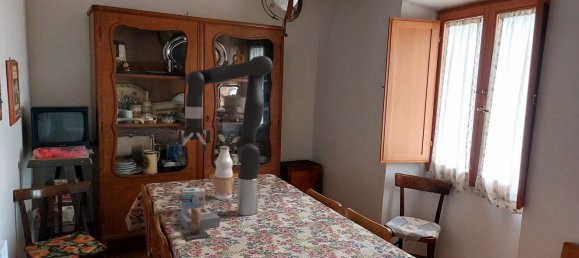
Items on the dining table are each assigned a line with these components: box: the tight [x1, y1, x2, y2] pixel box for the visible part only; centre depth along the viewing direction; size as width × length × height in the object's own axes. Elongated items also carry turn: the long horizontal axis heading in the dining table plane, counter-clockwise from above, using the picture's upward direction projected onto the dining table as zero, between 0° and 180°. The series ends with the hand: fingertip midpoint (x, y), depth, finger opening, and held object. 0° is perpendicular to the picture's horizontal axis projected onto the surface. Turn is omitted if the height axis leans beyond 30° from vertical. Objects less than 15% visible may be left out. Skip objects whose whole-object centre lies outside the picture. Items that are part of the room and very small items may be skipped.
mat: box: [180, 228, 210, 241], centre depth 153 cm, size 9×9×1 cm
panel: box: [178, 206, 221, 231], centre depth 166 cm, size 14×14×6 cm
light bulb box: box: [180, 187, 206, 211], centre depth 180 cm, size 11×7×11 cm, turn 105°
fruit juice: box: [214, 145, 234, 201], centre depth 203 cm, size 9×9×28 cm
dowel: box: [191, 208, 200, 235], centre depth 153 cm, size 4×4×10 cm
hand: (193, 153), depth 168 cm, fingers open, 8 cm apart
